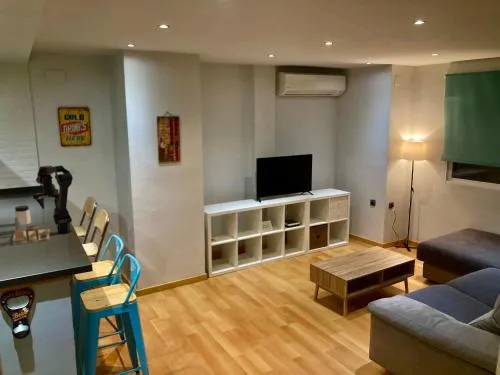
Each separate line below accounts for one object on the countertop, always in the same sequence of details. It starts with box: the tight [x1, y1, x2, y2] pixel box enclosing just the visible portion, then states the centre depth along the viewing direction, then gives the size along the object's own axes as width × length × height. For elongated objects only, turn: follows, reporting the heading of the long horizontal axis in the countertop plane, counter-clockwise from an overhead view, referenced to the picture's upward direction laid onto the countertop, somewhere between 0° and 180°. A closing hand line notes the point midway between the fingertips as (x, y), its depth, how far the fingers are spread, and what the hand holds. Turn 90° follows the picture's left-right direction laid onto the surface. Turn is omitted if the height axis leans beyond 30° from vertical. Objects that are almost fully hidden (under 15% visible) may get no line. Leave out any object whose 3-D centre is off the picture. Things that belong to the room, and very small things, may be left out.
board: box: [12, 228, 51, 246], centre depth 253 cm, size 18×25×1 cm
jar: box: [14, 205, 32, 226], centre depth 286 cm, size 9×8×12 cm
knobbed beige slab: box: [12, 217, 26, 242], centre depth 250 cm, size 6×20×10 cm, turn 24°
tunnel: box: [25, 224, 39, 241], centre depth 246 cm, size 6×8×7 cm
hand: (50, 208), depth 271 cm, fingers open, 9 cm apart
